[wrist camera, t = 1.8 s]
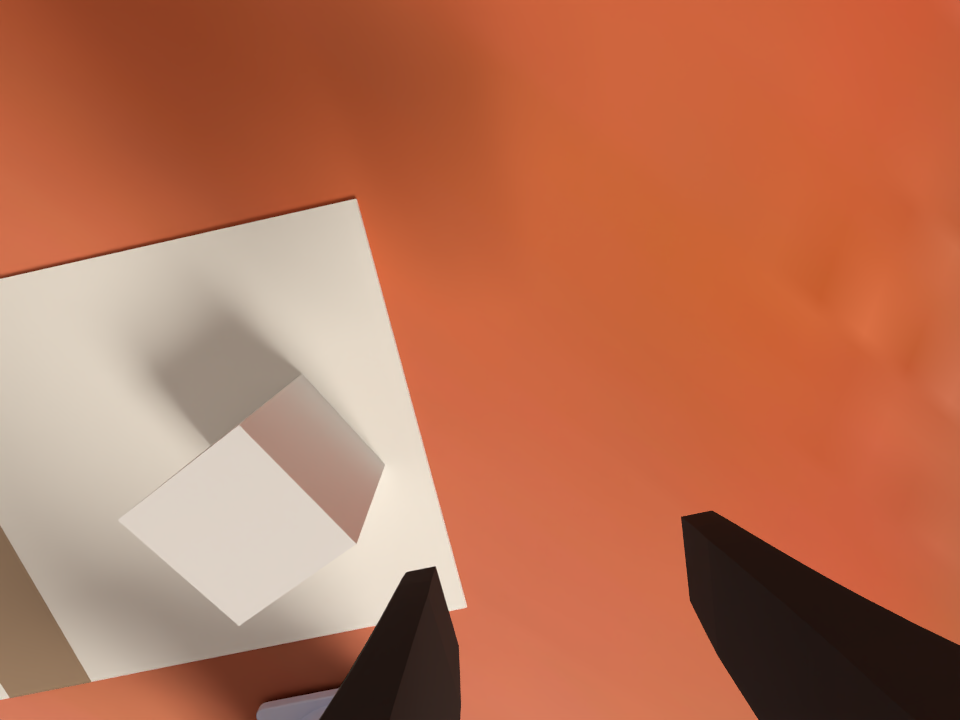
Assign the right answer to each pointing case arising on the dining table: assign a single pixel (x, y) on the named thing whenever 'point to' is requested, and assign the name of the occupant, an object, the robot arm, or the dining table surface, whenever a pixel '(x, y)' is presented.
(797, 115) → the dining table surface
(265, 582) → the cream white cube
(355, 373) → the subfloor board
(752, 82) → the dining table surface
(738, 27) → the dining table surface
